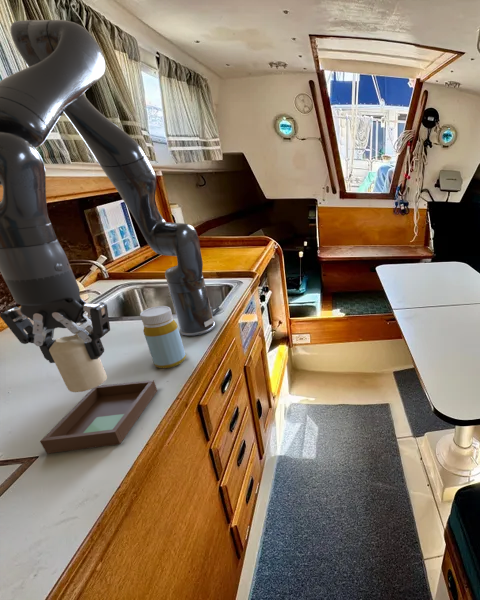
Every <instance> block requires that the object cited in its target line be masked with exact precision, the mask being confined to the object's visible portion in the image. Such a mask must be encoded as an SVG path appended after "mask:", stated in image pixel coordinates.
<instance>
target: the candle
mask: <svg viewBox="0 0 480 600" xmlns="http://www.w3.org/2000/svg"><path fill="white" fill-rule="evenodd" d="M54 340H55V342H54V343H53V345H52V346H51V347H50V349H49V351H50V354H51V356H52V358H53V360H54V362H55V363H54V364H55V366H56V368H57V370H58V372H59V375H60V377H61V379H62V380H63V382H64V385H65V387H66V388H67V390H68V391H69V392H71V393H82V392H86V391H90V390H91V389H93V388H95V387H97V386H100V385H103V383H105V382H106V380H107V379H108V375H107V372H106V370H105V367H104V365H103V362H102V360H101V357H99V358H98V359H93V360H92V359H91V358H90V356H89V354H88V351H87V349H86V347H85V344H84V343H85V341H84V340H83V339H81V338H80V337H79V336H78V335H77V334H73V335H67V336H66V335H65V336H61V337H59V338H56V339H54Z"/></svg>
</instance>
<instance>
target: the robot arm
mask: <svg viewBox="0 0 480 600" xmlns="http://www.w3.org/2000/svg"><path fill="white" fill-rule="evenodd" d="M10 36H11V39H12V42H13V44H14V45H15V48H16V50H17V51H18V53H19V55H20V56H21V58H22V59H23V61H24V62H25V64H26V66H27V67H25V68H23V69H21V70H19V71H16V72H14V73H12V74H11V75H8V76H6V77H5V78H3V79H1V80H0V186H2V197H1V200H0V274H1V276H2V278H3V280H4V282H5V284H6V286H7V288H8V290H9V292H10V294H11V296H12V298H13V300H14V302H15V303H16V304H18V305H20V307H18V306H14V307H12V308H10V309H7V310H5V311H4V312H1V313H0V318H1V320H2V321H3V322H4V324H5V325H6V326H7V327H8V328H9V330H10V331H11V333H12V334H13V335H14V337H16V339H17V340H18V341H19V343H20V344H23V345H27V344H34V345H35V346H37V347H39V349H40V352H41V353H42V356H43V358H44V359H45V360H46V361H48V362H49V364H55V362H54V360H53V358H52V356H51V354H50V351H49V349H50V347H51V346H52V345H53V343H54V342H55V340H56V339H54V334H55V329H67V330H68V331H69V332H70V333H71V334H73V335H75V334H77V335H78V336H79V337H80V338H81V339H83V340H84V341H85V343H84V344H85V347H86V349H87V351H88V354H89V356H90V358H91V359H92V360H93V359H98V358H101V357H102V356H103V353H105V347H104V344H103V343H102V340H101V339H102V338H103V337H104V336H105V335H106V334H108V333H109V332H110V331H111V326H110V325H111V324H110V317H109V310H108V305H107V303H105V302H104V301H101V302H98V303H95V304H93V303H87V302H86V301H85V300H84V299H83V298H82V297H81V293H80V292H81V291H80V287H79V284H78V282H77V279H76V276H75V273H74V272H73V269H72V267H71V263H70V262H69V259H68V256H67V255H66V252H65V250H64V249H63V247H62V245H61V244H60V242H59V240H58V238H57V235H56V233H55V230H54V228H53V225H52V222H51V220H50V218H49V214H48V207H47V205H48V203H47V185H46V182H47V181H46V180H47V179H46V178H47V176H46V175H47V174H46V168H45V164H44V161H43V158H42V156H41V155H40V153H39V151H37V149H36V148H39V147H40V146H42V145H43V144H44V143H45V142H46V140H47V138H48V137H49V135H50V134H51V132H52V131H53V129H54V127H55V125H56V124H57V122H58V121H59V119H60V117H62V115H63V114H65V116H66V117H67V119H68V120H69V121H70V123H71V124H72V125H73V127H74V128H75V130H76V131H77V133H78V134H79V136H80V137H81V139H82V140H83V142H84V143H85V145H86V146H87V148H88V149H89V151H90V152H91V154H92V155H93V157H94V159H95V160H96V162H97V164H98V165H99V166H100V168H101V169H102V171H103V173H104V174H105V175H106V177H107V178H108V180H109V181H110V182H111V184H112V185H113V186H114V188H115V190H116V191H117V192H118V194H119V195H120V198H121V199H122V200H123V202H124V204H125V206H126V207H127V209H128V210H129V212H130V213H131V215H132V217H133V219H134V220H135V222H136V224H137V227H138V229H139V230H140V232H141V234H142V236H143V237H144V240H145V241H146V243H147V245H148V246H149V247H150V249H151V250H152V251H153V252H155V253H156V254H157V255H161V256H166V257H176V260H177V261H176V262H177V264H176V265H174V266H171V267H169V268H167V269H166V270H165V271H164V277H165V280H166V283H167V288H168V291H169V294H170V298H171V302H172V305H173V309H174V312H175V315H176V319H177V324H178V326H179V327H178V328H179V333H180V335H182V336H186V337H195V336H202V335H204V334H207V333H210V332H211V331H212V330H214V329H215V328H216V323H215V320H214V315H216V314H217V313H218V311H219V310H220V306H218V307H216V308H215V310H214V308H213V306H212V305H211V303H210V299H209V293H208V290H207V285H206V281H205V277H204V271H203V268H204V261H203V255H202V250H201V243H200V238H199V235H198V232H197V230H196V229H195V228H194V226H193V225H191V224H188V223H185V222H184V223H183V222H167V221H166V220H165V219H164V217H163V216H162V214H161V213H160V211H159V208H158V206H157V204H156V190H157V175H156V172H155V170H154V167H153V166H152V164H151V162H150V160H149V158H148V156H147V154H146V153H145V152H144V149H143V148H142V146H141V145H140V144H139V143H138V142H137V141H136V140H135V139H134V138H133V137H132V136H131V135H129V134H128V133H127V132H126V131H124V130H123V129H122V128H120V127H119V126H118V125H117V124H115V123H114V122H112V121H111V120H110V119H109V118H107V116H105V115H104V114H103V113H101V112H100V111H99V110H98V109H97V108H96V107H95V106H94V105H93V104H92V103H91V102H90V100H89V99H88V98H87V97H86V96H85V94H84V93H85V92H86V91H87V90H89V89H90V88H91V87H93V86H94V85H95V84H97V83H98V82H99V81H101V79H103V78H104V76H105V74H106V70H107V64H106V57H105V56H104V52H103V50H102V49H101V47H100V45H99V43H98V42H97V39H95V37H94V36H93V35H92V33H90V32H89V30H87V29H86V28H85V27H84V26H83V25H80V24H78V23H77V22H74V21H70V20H64V19H27V20H26V19H25V20H15V21H13V22H12V23H11V25H10ZM85 313H87V315H86V314H85ZM31 321H32V322H33V323H32V322H31ZM78 323H79V324H78Z"/></svg>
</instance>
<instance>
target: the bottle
mask: <svg viewBox="0 0 480 600" xmlns="http://www.w3.org/2000/svg"><path fill="white" fill-rule="evenodd" d="M139 317H140V319H141V322H142V325H143V334H144V339H145V340H146V341H145V342H146V343H147V347H148V350H149V353H150V356H151V358H152V362H153V364H154V366H155V367H156V368H159V369H170V368H174V367H177V366H178V365H181V364H182V363H183V362H184V361H185V359H186V357H187V355H186V351H185V347H184V344H183V341H182V340H183V339H182V337H181V332H180V328H179V327H178V326H179V325H178V322H176V321H175V319H174V316H173V312H172V309H171V307H170V306H167V305H157V306H152V307H149V308H146V309H144V310H142V311H141V312H140V314H139Z"/></svg>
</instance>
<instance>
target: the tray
mask: <svg viewBox="0 0 480 600" xmlns="http://www.w3.org/2000/svg"><path fill="white" fill-rule="evenodd" d="M157 393H158V388H157V385H156V383H155V380H154V379H152V380H142V381H132V382H121V383H110V384H101V385H99V386H97V387H95V388H93V389H90V390H88V392H87V393H86V394H85V395H84V396H83V397H82V399H80V400H79V401H78V403H76V404H75V406H74V407H72V408H71V409H70V410H69V412H67V413H66V414H65V415H64V417H62V419H60V421H58V423H57V424H56V425H54V426H53V428H51V429H50V430H49V432H47V434H46V435H45V436H44V437H43V438H41V440H39V443H40V444H41V446H42V448H43V449H44V452H45V454H55V453H56V454H57V453H62V452H70V451H77V450H85V449H92V448H100V447H107V446H108V447H109V446H115V445H121V443H122V442H123V441H124V440H125V438H126V436H128V434H129V432H130V431H131V429H132V428H133V427H134V425H135V424H136V422H137V421H138V420H139V418H140V416H142V414H143V413H144V411H145V409H147V407H148V405H149V404H150V403H151V401H152V400H153V398H154V397H155V396H156V394H157ZM120 414H124V415H123V417H122V418H121V419H120V420H119V422H118V423H117V424H116V426H115V427H114V428H113V429H112V430H104V431H96V432H88V433H84V431H85V430H86V429H87V428H88V427H89V426H90V424H91V423H92V422H93V421H94V420H95V419H96V418H97V417H103V416H111V415H120Z"/></svg>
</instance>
